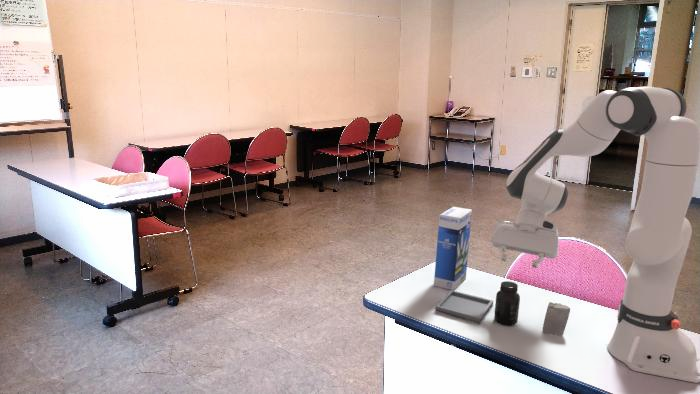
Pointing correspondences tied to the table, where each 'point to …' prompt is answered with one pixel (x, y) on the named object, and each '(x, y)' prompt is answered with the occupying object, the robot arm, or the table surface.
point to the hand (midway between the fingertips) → (518, 263)
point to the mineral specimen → (556, 319)
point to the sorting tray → (464, 306)
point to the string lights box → (452, 247)
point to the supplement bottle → (507, 304)
